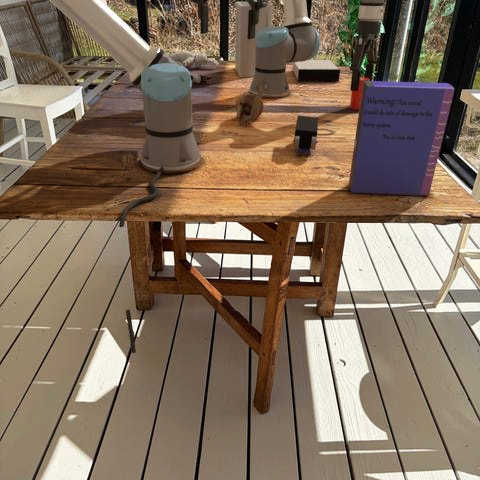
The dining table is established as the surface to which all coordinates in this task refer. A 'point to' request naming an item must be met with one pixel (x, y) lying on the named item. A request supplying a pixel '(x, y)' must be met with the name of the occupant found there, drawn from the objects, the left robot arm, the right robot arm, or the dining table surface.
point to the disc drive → (316, 71)
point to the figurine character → (305, 134)
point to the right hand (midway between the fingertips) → (361, 87)
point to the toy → (191, 58)
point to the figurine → (200, 78)
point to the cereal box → (399, 137)
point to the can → (357, 95)
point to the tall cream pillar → (244, 45)
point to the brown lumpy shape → (250, 106)
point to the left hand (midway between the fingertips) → (227, 36)
